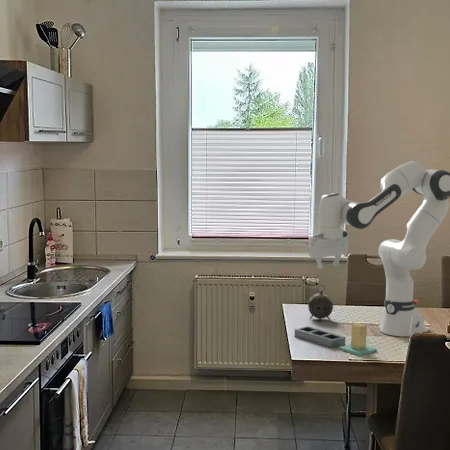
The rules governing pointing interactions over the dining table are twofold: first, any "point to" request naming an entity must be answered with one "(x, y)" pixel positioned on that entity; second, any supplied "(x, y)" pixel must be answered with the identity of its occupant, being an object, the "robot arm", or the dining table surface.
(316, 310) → the alarm clock
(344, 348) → the teal board
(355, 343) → the brass peg
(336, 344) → the grey peg holder tray
